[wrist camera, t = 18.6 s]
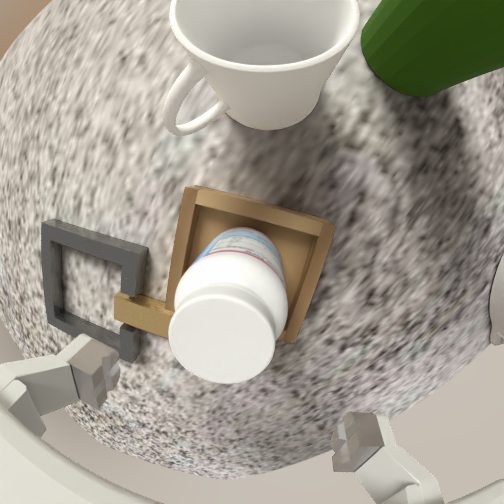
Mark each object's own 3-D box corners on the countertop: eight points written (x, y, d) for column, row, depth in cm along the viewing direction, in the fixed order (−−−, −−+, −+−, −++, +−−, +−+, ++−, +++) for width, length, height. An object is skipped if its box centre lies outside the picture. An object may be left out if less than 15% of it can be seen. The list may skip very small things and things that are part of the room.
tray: (327, 220, 21) (336, 226, 18) (291, 325, 24) (294, 343, 21) (196, 185, 21) (185, 186, 18) (175, 294, 24) (164, 309, 21)
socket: (148, 247, 23) (138, 253, 21) (139, 353, 26) (132, 363, 25) (53, 218, 23) (41, 222, 21) (57, 315, 26) (48, 322, 24)
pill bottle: (235, 310, 23) (210, 409, 12) (191, 252, 22) (125, 322, 11) (297, 273, 21) (318, 362, 11) (253, 209, 20) (234, 247, 10)
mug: (228, 177, 21) (178, 179, 9) (165, 104, 19) (80, 56, 8) (341, 93, 18) (403, 27, 7) (274, 26, 17) (274, -67, 5)
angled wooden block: (209, 316, 24) (201, 334, 21) (204, 337, 25) (197, 357, 22) (123, 288, 24) (107, 302, 21) (122, 310, 25) (107, 325, 22)
